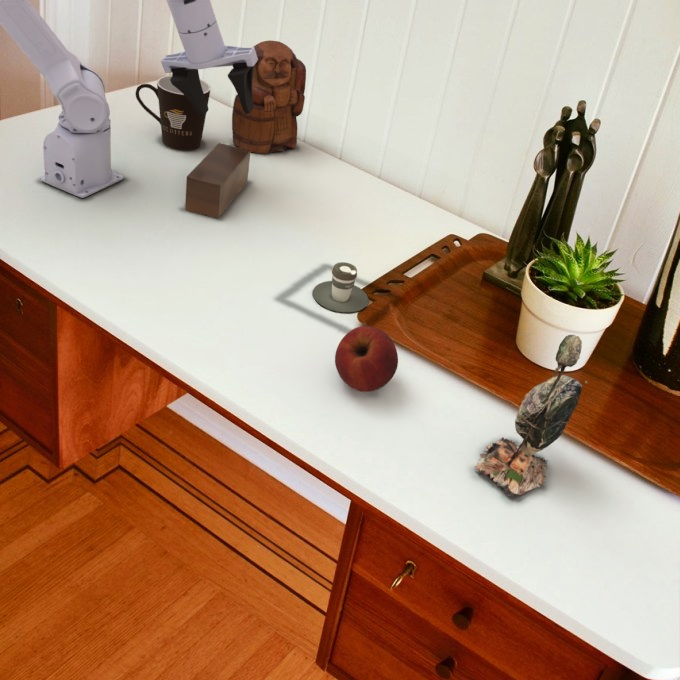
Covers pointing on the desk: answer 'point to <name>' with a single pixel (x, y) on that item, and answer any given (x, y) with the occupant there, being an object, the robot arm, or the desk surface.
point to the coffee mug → (177, 115)
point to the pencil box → (217, 180)
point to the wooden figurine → (271, 101)
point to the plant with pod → (535, 427)
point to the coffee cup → (341, 291)
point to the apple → (366, 359)
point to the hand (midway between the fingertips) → (226, 111)
